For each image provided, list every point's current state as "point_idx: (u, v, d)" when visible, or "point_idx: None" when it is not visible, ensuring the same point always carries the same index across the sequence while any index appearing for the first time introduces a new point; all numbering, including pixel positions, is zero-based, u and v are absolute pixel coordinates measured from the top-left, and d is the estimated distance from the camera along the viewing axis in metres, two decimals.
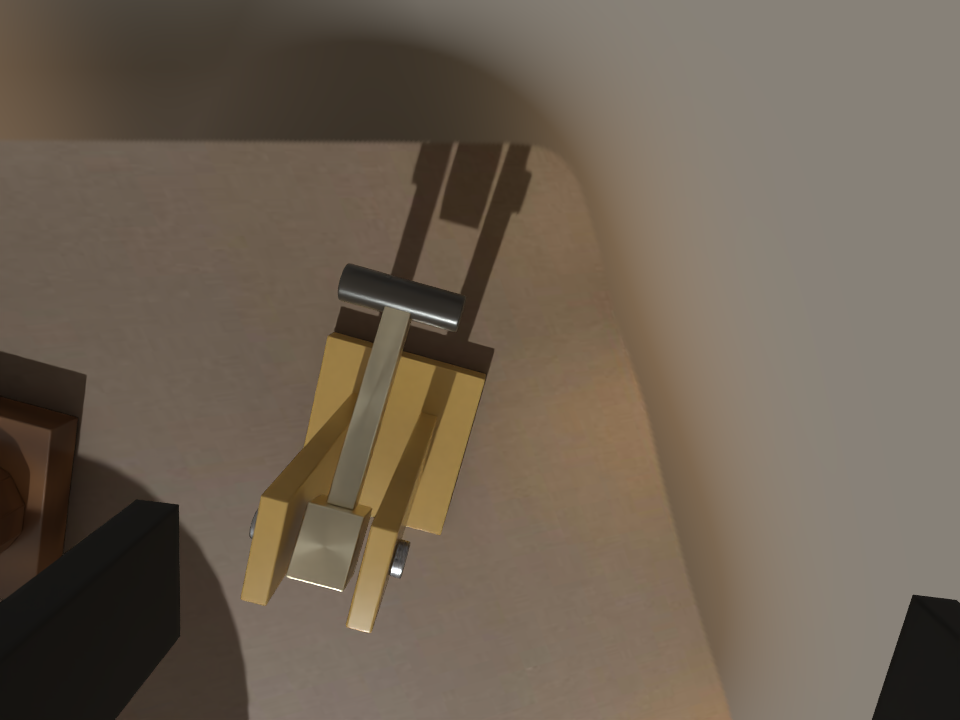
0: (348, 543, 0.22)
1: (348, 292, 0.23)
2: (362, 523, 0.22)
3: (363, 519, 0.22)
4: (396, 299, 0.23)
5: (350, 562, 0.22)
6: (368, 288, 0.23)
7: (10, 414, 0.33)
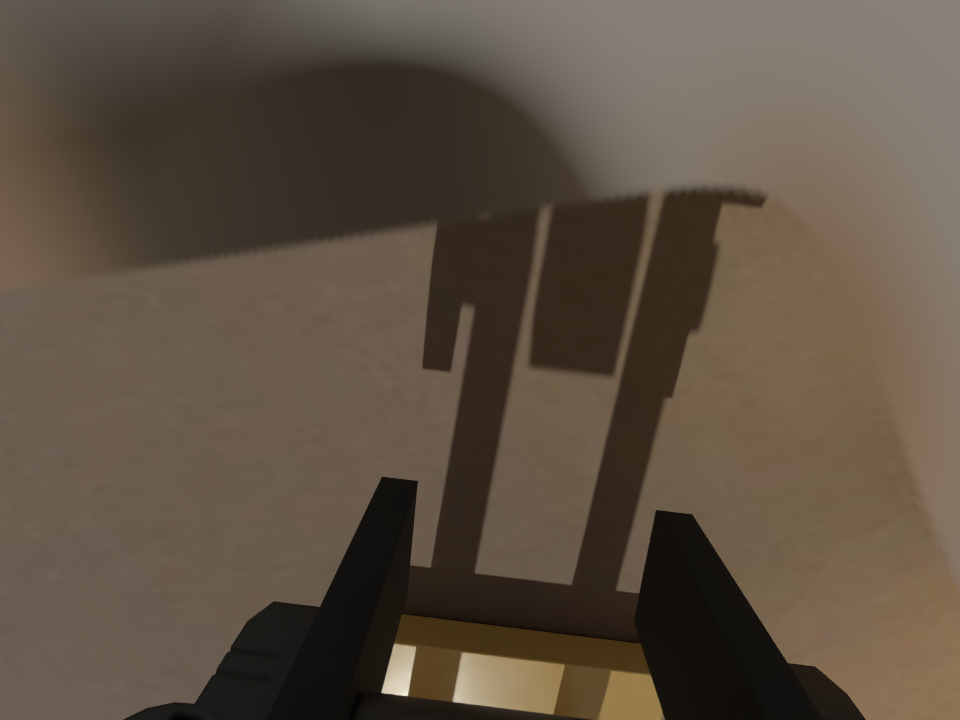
0: None
1: None
2: None
3: None
4: None
5: None
6: None
7: None
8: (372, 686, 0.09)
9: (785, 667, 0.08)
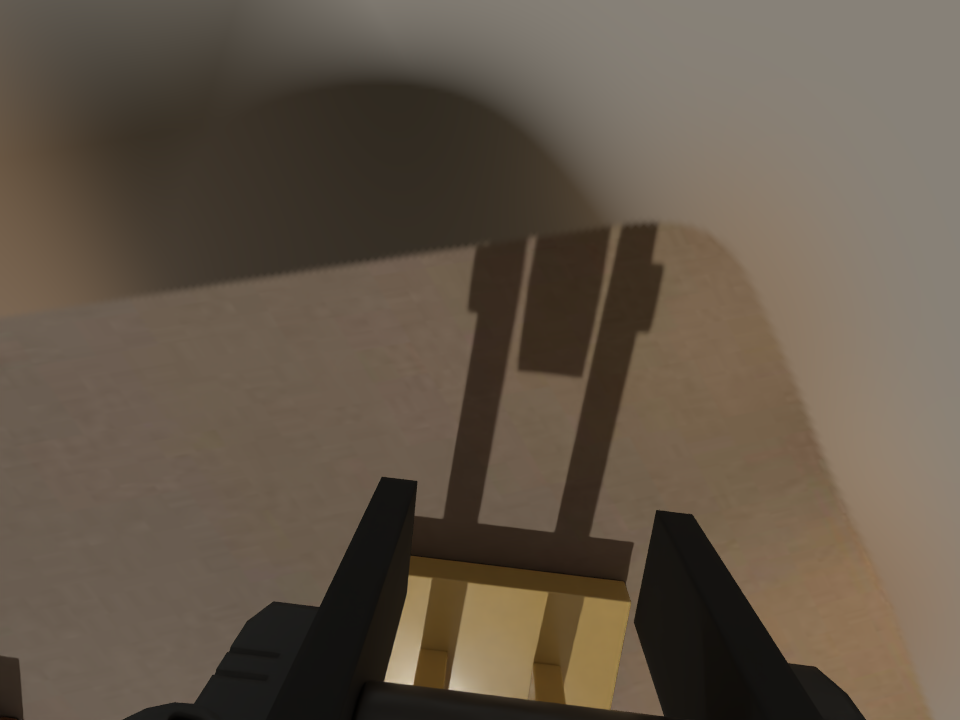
0: None
1: None
2: None
3: None
4: None
5: None
6: None
7: None
8: None
9: (786, 667, 0.08)
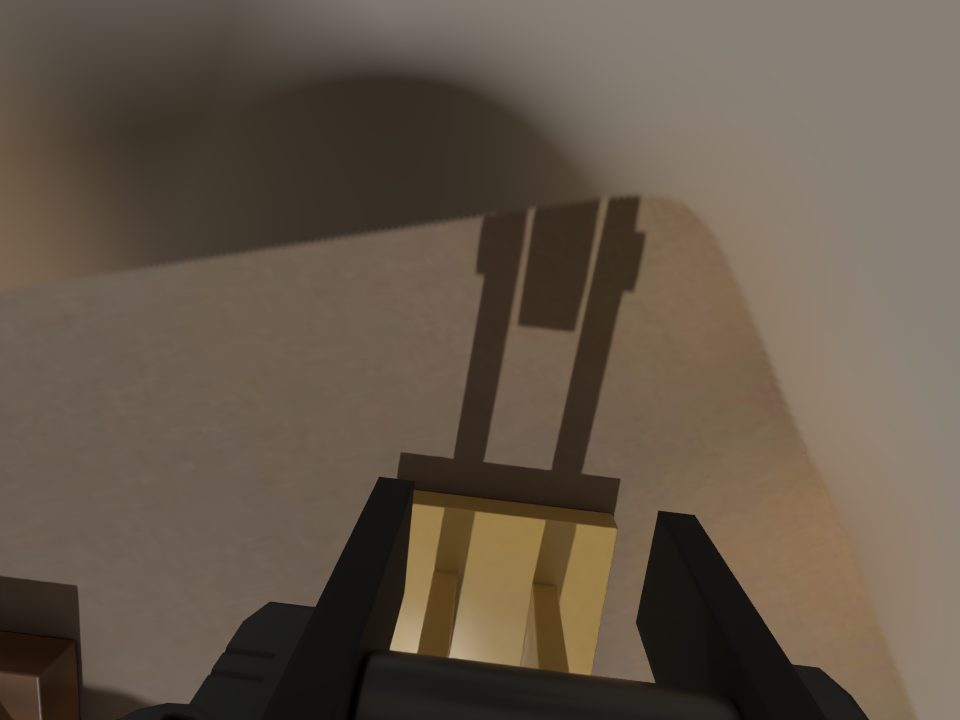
0: None
1: None
2: None
3: None
4: None
5: None
6: None
7: None
8: None
9: (790, 668, 0.08)
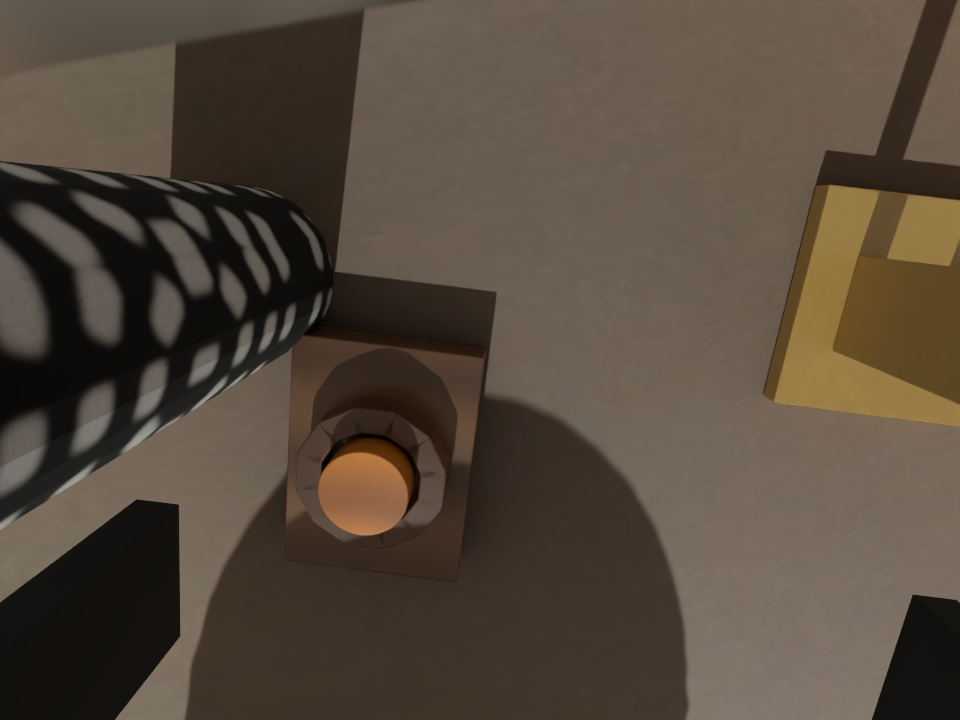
0: None
1: None
2: None
3: None
4: None
5: None
6: None
7: (427, 348, 0.27)
8: None
9: None
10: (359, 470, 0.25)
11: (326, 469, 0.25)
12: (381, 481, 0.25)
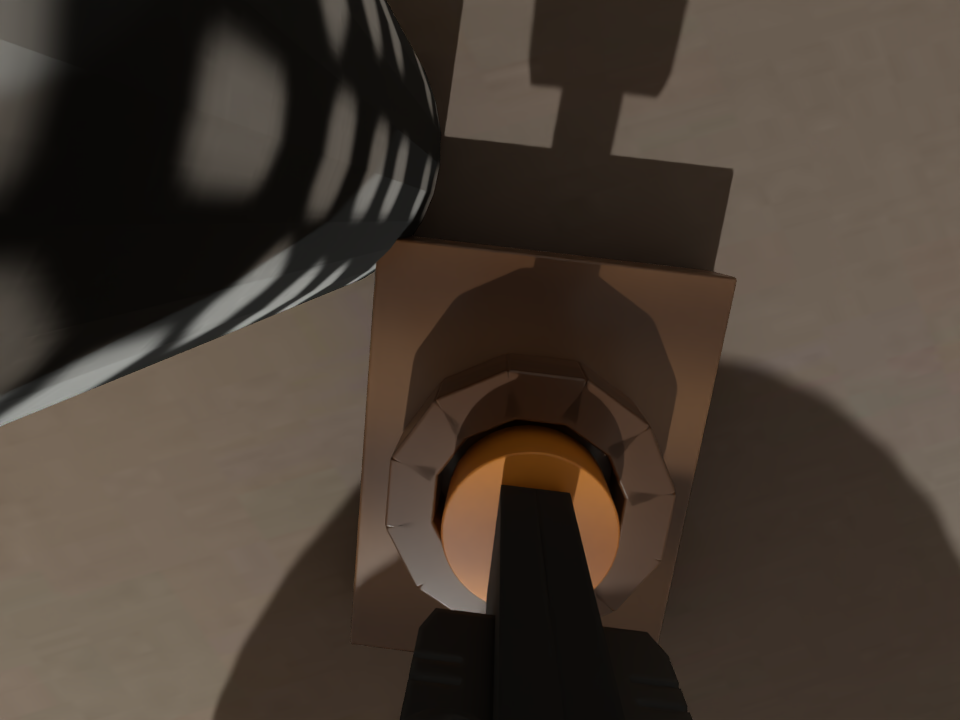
0: None
1: None
2: None
3: None
4: None
5: None
6: None
7: (624, 263, 0.15)
8: None
9: (598, 628, 0.08)
10: (528, 487, 0.13)
11: (460, 487, 0.13)
12: None
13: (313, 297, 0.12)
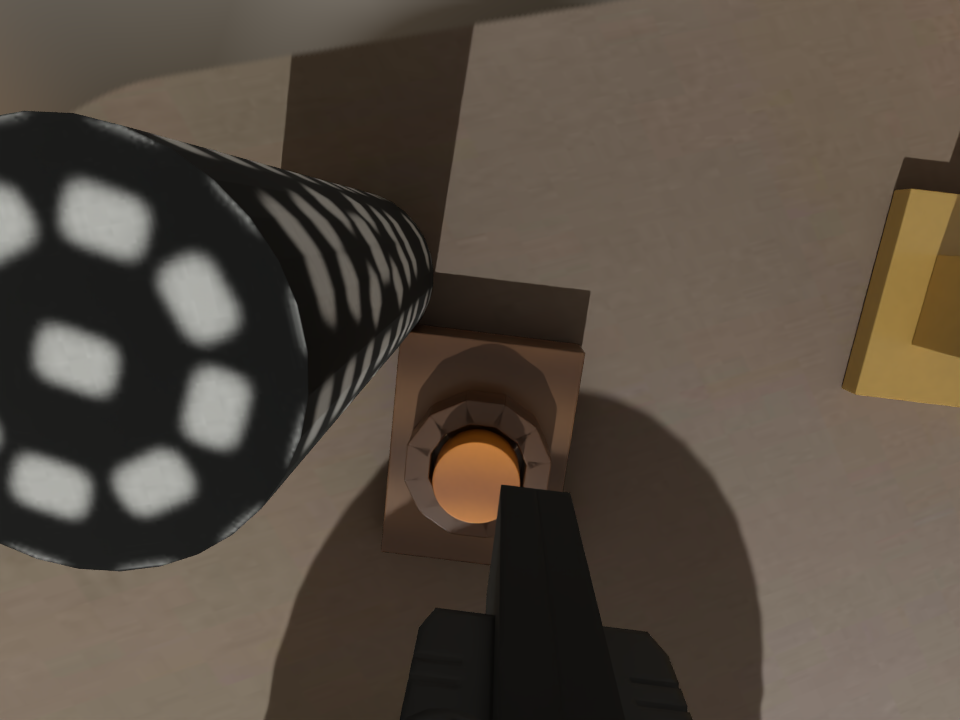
0: None
1: None
2: None
3: None
4: None
5: None
6: None
7: (528, 344, 0.28)
8: None
9: (598, 628, 0.08)
10: (474, 459, 0.26)
11: (442, 459, 0.26)
12: (494, 470, 0.26)
13: None
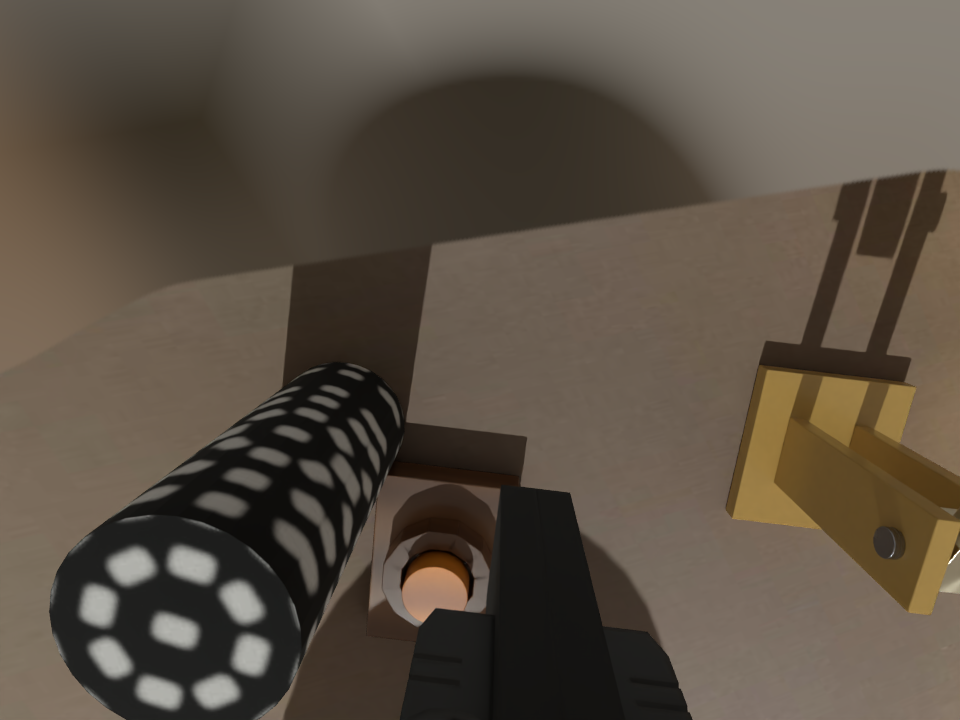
0: None
1: None
2: None
3: None
4: None
5: None
6: None
7: (477, 482, 0.37)
8: None
9: (598, 628, 0.08)
10: (432, 579, 0.35)
11: (408, 578, 0.35)
12: (448, 587, 0.35)
13: None
